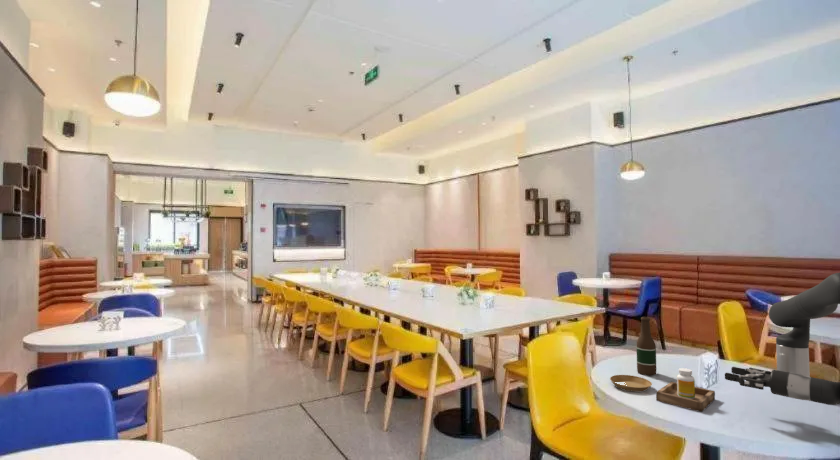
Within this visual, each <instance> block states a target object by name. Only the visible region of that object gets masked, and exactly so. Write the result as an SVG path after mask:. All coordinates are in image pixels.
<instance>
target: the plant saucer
mask: <svg viewBox="0 0 840 460" xmlns="http://www.w3.org/2000/svg"><path fill="white" fill-rule="evenodd" d="M609 379H610V382H611V383H612V384H613V385H614V386H615V387H616V386H617V387H616V388H617V389H620V390H622V389H623V391H627V392H633V393H634V392H635V393H637V392H639V393H640V392H645V391H647V390H648V389H649V388H651V387H652V386H653V383H652V382H651V381H650V380H649V379H647V378H643V377H641V376H635V375H631V374H617V375H616V374H615V375H612V376H610V378H609ZM615 382H625V383H626V384H625V383H624V384H625V385H620V384H617V383H615ZM626 385H627V386H626Z"/></svg>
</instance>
